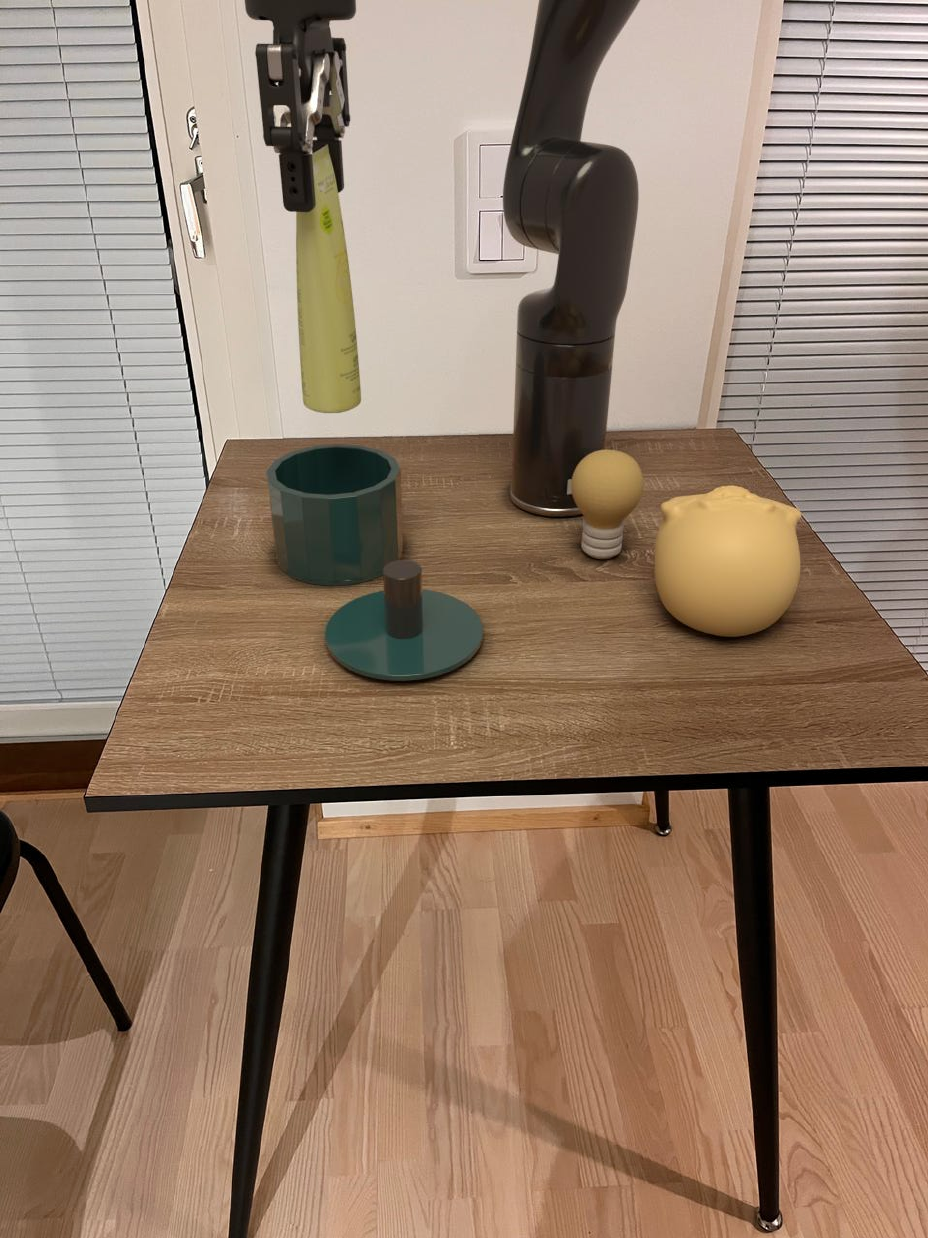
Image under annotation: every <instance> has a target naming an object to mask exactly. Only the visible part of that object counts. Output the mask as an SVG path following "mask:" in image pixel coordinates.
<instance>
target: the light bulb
mask: <svg viewBox="0 0 928 1238" xmlns="http://www.w3.org/2000/svg"><path fill="white" fill-rule="evenodd" d="M571 490H572V495H573V498H574V501H575V503H576V505H577V507H578V508H579V510H580V511H581V512H582V514H581V515H583V517H584V520H583V521H582V533H581V544H580V545H581V549H582V551H583V552H584V553H585V554H586V555H587V556H589V557H591V558H593V559H599V560H607V559H612V558H613V557H616V556H617V555H619V554H620V553H621V551H622V548H623V538H624V529H625V523H624V522H623V521H624V520H625V519H626V518H627V517H628V516H629V515H630V514H631V513H632V512H633V511H634V510H635V509H636V507H637V506H638V505H639V503H640V501H641V498H642V495H643V492H644V476H643V473H642V469H641V467H640V465H639V463H638V462H637V460H636V459H634V458H633V457H632V456H631V455H630V454H627V453H625V452H624V451H623V452H622V451H619V450H616V449H605V450H599V451H595V452H593V453H591V454H589V455H587V456H586V457H585V458H583V459H582V460H581V461H580V463H579V464H578V465H577V467H576V469H575V471H574V473H573V477H572V482H571Z"/></svg>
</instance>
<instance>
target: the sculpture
mask: <svg viewBox="0 0 928 1238" xmlns="http://www.w3.org/2000/svg"><path fill="white" fill-rule="evenodd" d="M660 512H661V514H662V519H661V521H660V523H659V527H658V528H659V529H658V531H657V534H656V538H655V545H654V554H653V556H654V560H653V562H654V564H653V565H654V580H655V585H656V589H657V593H658V595H659V598H660V600H661V603H662V604H663V606H664V608H665V609H666V610H667V612H668V613H669V614H670V615H671V616H673V618H675V619H676V620H677V621H679V622H680V623H682V624H683V625H685V626H687V627H689V628H691V629H694V630H696V631H699V632H702V633H705V634H709V635H714V636H718V637H729V638H730V637H732V638H735V637H743V636H748V635H753V634H756V633H759V632H760V631H764V630H765V629H767V628H769V627H771V626H773V624H775V623H776V622H777V621H778V620H779V619H780V618H782V616H783V614H785V612H786V611H787V610H788V608H789V607H790V605H791V603H792V602H793V599H794V598H795V595H796V593H797V590H798V586H799V582H800V578H801V564H802V563H801V553H800V551H801V550H800V545H799V540H798V536H797V524H798V523H799V522H800V521H801V518H802V512H801V511H800V510H799V508H796V507H794V506H792V505H791V506H790V505H788V504H785V503H782V502H780V501H777V500H773V499H770V498H766V497H762V496H759V495H757V494H755V493H751V492H750V490H749V489H747V488H744V487H742V486H737V485H726V486H725V485H721V486H719V487H715V488H714V489H713V490H711V491H709V492H707V493H701V494H700V493H699V494H692V495H691V494H690V495H681V496H675V497H672V498H670V499H669V500H667V501H664V502H662V503H661V505H660Z"/></svg>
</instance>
